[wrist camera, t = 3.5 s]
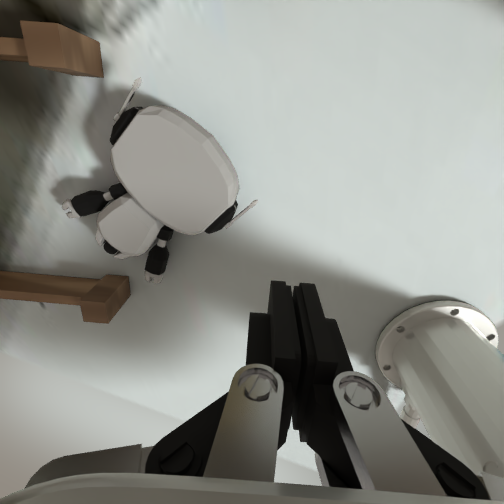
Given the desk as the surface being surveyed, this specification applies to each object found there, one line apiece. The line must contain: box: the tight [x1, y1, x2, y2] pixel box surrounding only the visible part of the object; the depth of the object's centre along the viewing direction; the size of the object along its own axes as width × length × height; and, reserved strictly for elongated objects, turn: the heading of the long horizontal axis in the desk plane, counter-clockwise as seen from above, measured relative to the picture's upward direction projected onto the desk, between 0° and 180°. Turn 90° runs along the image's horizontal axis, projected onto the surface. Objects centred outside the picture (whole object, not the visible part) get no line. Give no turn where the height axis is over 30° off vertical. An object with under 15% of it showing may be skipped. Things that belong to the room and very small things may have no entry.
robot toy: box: [62, 77, 258, 284], centre depth 26 cm, size 12×4×15 cm
